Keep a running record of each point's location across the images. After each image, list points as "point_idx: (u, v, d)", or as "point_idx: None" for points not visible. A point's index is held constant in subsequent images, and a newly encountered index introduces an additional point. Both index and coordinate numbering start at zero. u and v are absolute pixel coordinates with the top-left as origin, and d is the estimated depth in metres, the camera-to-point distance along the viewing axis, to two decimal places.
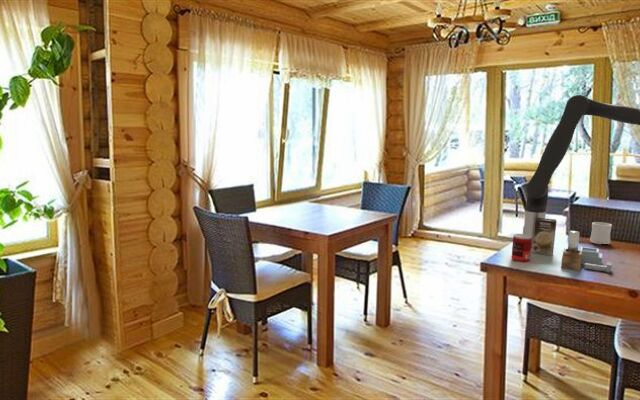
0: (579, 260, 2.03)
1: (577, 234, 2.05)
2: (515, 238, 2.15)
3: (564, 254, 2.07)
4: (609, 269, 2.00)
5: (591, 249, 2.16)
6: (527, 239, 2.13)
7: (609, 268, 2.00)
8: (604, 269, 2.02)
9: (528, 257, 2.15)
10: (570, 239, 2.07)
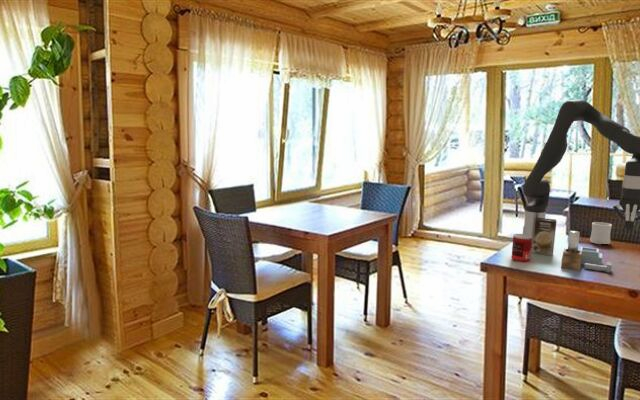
0: (579, 260, 2.03)
1: (577, 234, 2.05)
2: (515, 238, 2.15)
3: (564, 254, 2.07)
4: (609, 269, 2.00)
5: (591, 249, 2.16)
6: (527, 239, 2.13)
7: (609, 268, 2.00)
8: (604, 269, 2.02)
9: (528, 257, 2.15)
10: (570, 239, 2.07)
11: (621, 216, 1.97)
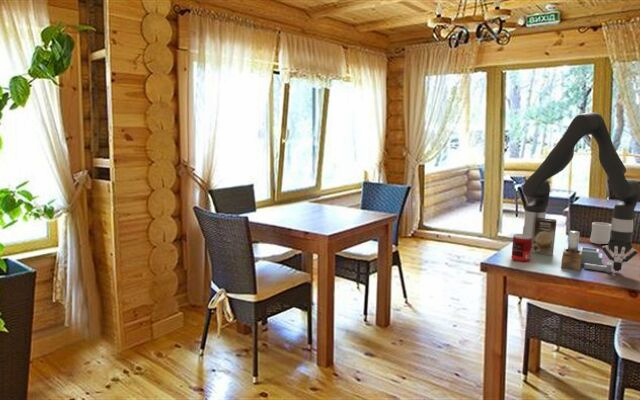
0: (579, 260, 2.03)
1: (577, 234, 2.05)
2: (515, 238, 2.15)
3: (564, 254, 2.07)
4: (609, 269, 2.00)
5: (591, 249, 2.16)
6: (527, 239, 2.13)
7: (609, 268, 2.00)
8: (604, 269, 2.02)
9: (528, 257, 2.15)
10: (570, 239, 2.07)
11: (610, 257, 2.01)
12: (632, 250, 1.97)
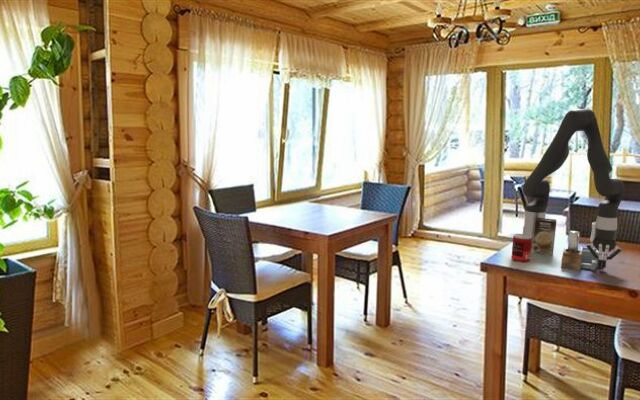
0: (579, 260, 2.03)
1: (577, 234, 2.05)
2: (515, 238, 2.15)
3: (564, 254, 2.07)
4: (594, 267, 2.03)
5: None
6: (527, 239, 2.13)
7: (594, 266, 2.03)
8: (589, 267, 2.05)
9: (528, 257, 2.15)
10: (570, 239, 2.07)
11: (594, 255, 2.03)
12: (616, 248, 2.00)
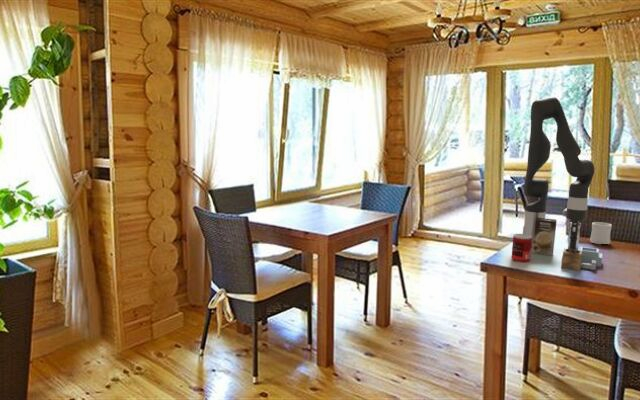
0: (579, 260, 2.03)
1: None
2: (515, 238, 2.15)
3: (564, 254, 2.07)
4: (593, 267, 2.03)
5: (591, 249, 2.16)
6: (527, 239, 2.13)
7: (593, 266, 2.03)
8: (589, 267, 2.05)
9: (528, 257, 2.15)
10: None
11: (576, 238, 2.02)
12: None
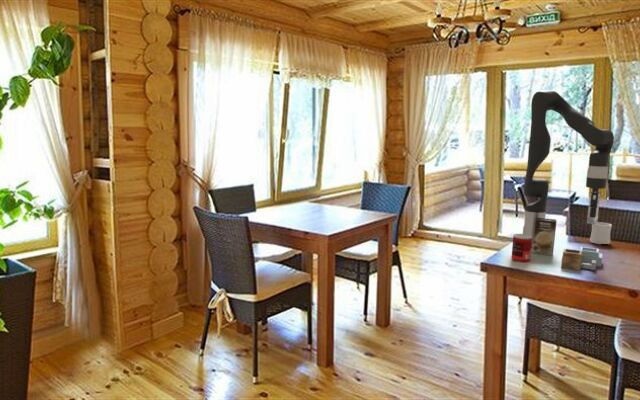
0: (579, 260, 2.03)
1: None
2: (515, 238, 2.15)
3: (564, 254, 2.07)
4: (593, 267, 2.03)
5: (591, 249, 2.16)
6: (527, 239, 2.13)
7: (593, 266, 2.03)
8: (589, 267, 2.05)
9: (528, 257, 2.15)
10: None
11: (596, 206, 2.06)
12: None
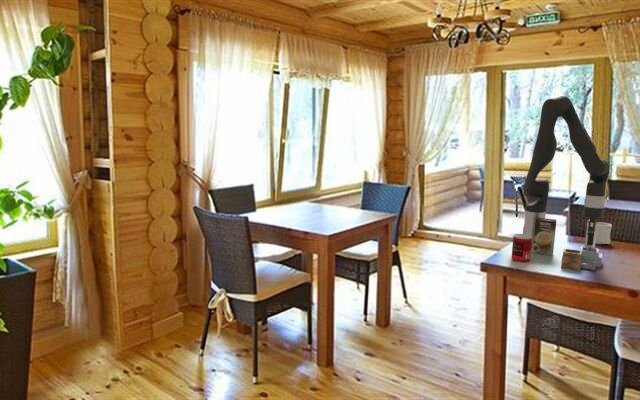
0: (579, 260, 2.03)
1: None
2: (515, 238, 2.15)
3: (564, 254, 2.07)
4: (593, 267, 2.03)
5: None
6: (527, 239, 2.13)
7: (593, 266, 2.03)
8: (589, 267, 2.05)
9: (528, 257, 2.15)
10: (587, 238, 2.13)
11: (594, 234, 2.07)
12: None
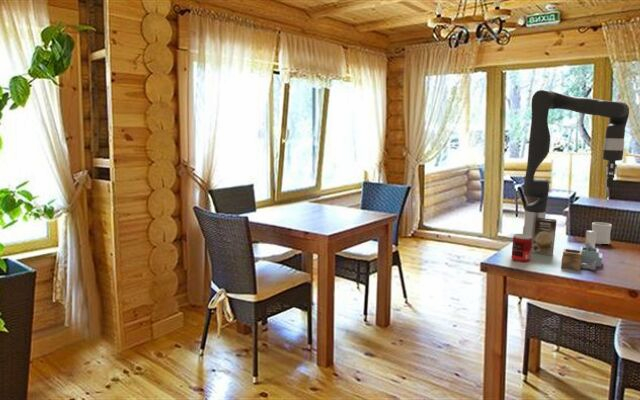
0: (579, 260, 2.03)
1: (594, 234, 2.11)
2: (515, 238, 2.15)
3: (564, 254, 2.07)
4: (593, 267, 2.03)
5: None
6: (527, 239, 2.13)
7: (593, 266, 2.03)
8: (589, 267, 2.05)
9: (528, 257, 2.15)
10: (587, 238, 2.13)
11: None
12: None
